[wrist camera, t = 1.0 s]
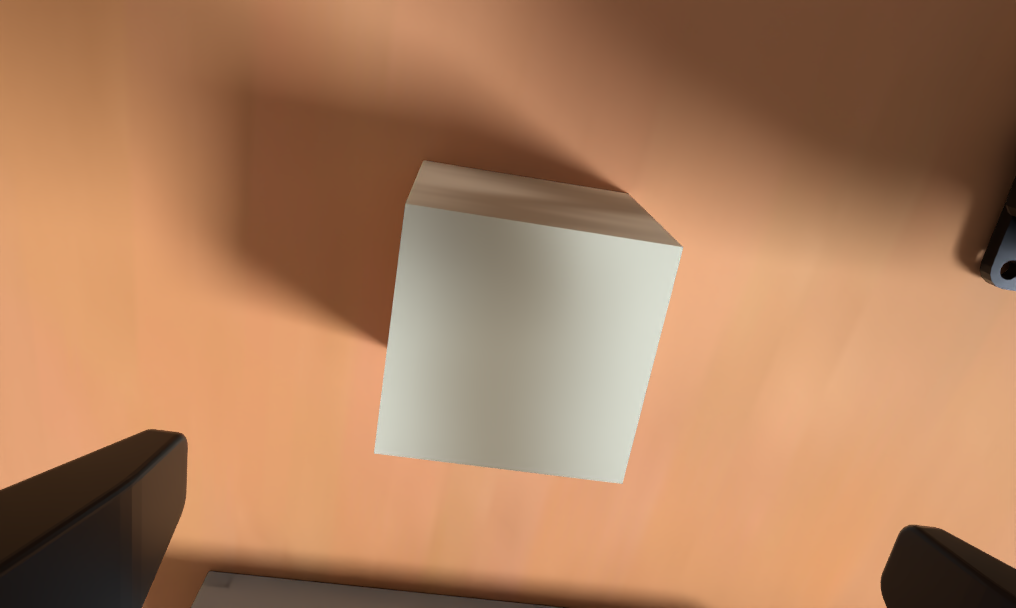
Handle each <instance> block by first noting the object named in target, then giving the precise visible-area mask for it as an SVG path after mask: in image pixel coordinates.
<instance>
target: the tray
mask: <svg viewBox="0 0 1016 608" xmlns="http://www.w3.org/2000/svg"><path fill="white" fill-rule="evenodd" d="M191 608H561V607H552V606H542V605H532V604H523V603H513V602H503V601H494V600H484V599H474V598H465V597H455V596H445V595H436V594H426V593H416V592H407V591H397V590H387V589H378V588H368V587H358V586H349V585H339V584H329V583H319V582H310V581H300V580H290V579H281V578H271V577H261V576H252V575H242V574H232V573H223V572H213V571H209V572H208V574H207V576H206V578H205V580H204V582H203V584H202V586H201V588H200V590H199V592H198V594H197V596H196V598H195V600H194V602H193V604H192V606H191Z"/></svg>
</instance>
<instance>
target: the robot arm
mask: <svg viewBox="0 0 1016 608" xmlns="http://www.w3.org/2000/svg"><path fill="white" fill-rule="evenodd" d="M1008 261H1009V267H1008V269H1007V270H1006V272H1004V273H1002V274H1001V275H1000V270H1001V267H1002V266H1003V265H1004V264H1005V263H1006V262H1008ZM980 273H981V277H982V278H983V279H984V280H985V281H986V282H988V283H990V284H992V285H994V286H996V287H999V288H1001V289H1006V290H1013V291H1016V177H1015V179H1014V182H1013V184H1012V187H1011V189H1010V192H1009V194H1008V197H1007V199H1006V202H1005V204H1004V207H1003V209H1002V212H1001V214H1000V217H999V219H998V222H997V224H996V227H995V229H994V232H993V235H992V237H991V240H990V242H989V245H988V247H987V250H986V252H985V255H984V257H983V260H982V262H981V267H980ZM187 453H188V444H187V439H186V437H185V436H184V435H183V434H182V433H179V432H171V431H164V430H156V429H148V430H145V431H143V432H140V433H138V434H136V435H133V436H131V437H128V438H126V439H123V440H121V441H119V442H116V443H114V444H111V445H109V446H106V447H104V448H102V449H99V450H97V451H94V452H92V453H89V454H87V455H85V456H82V457H80V458H77V459H75V460H72V461H70V462H68V463H65V464H63V465H60V466H58V467H55V468H53V469H51V470H48V471H46V472H43V473H41V474H38V475H36V476H33V477H31V478H29V479H26V480H24V481H21V482H19V483H16V484H14V485H12V486H9V487H7V488H4V489H2V490H0V608H142V606H143V603H144V601H145V599H146V596H147V594H148V592H149V589H150V587H151V585H152V582H153V580H154V578H155V575H156V573H157V571H158V568H159V566H160V564H161V561H162V559H163V557H164V554H165V552H166V550H167V547H168V545H169V542H170V540H171V538H172V535H173V533H174V531H175V528H176V526H177V524H178V521H179V519H180V517H181V514H182V511H183V508H184V504H185V499H186V486H187ZM881 592H882V596H883V599H884V601H885V604H886V606H887V608H1016V569H1015V568H1013V567H1011V566H1009V565H1007V564H1005V563H1004V562H1002V561H1000V560H998V559H996V558H994V557H992V556H991V555H989V554H987V553H985V552H983V551H981V550H980V549H978V548H976V547H974V546H972V545H970V544H968V543H967V542H965V541H963V540H961V539H959V538H957V537H955V536H954V535H952V534H950V533H948V532H946V531H944V530H942V529H940V528H936V527H928V526H920V525H908V526H906V527H904V528H903V529H902V530H901V531H900V533H899V535H898V537H897V539H896V542H895V544H894V547H893V549H892V551H891V554H890V556H889V559H888V561H887V563H886V566H885V568H884V571H883V573H882V576H881Z"/></svg>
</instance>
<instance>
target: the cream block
mask: <svg viewBox="0 0 1016 608" xmlns="http://www.w3.org/2000/svg"><path fill="white" fill-rule="evenodd" d="M682 250H683V246H682V245H680V244H679V243H678V242H677V241H676V240H675V239H674V238H673V237H672V236H671V235H670V234H669V233H668V232H667V231H666V230H665V229H664V228H663V227H662V226H661V225H660V224H659V223H658V222H657V221H656V220H655V219H654V218H653V217H652V216H651V215H650V214H649V213H648V212H647V211H646V210H645V209H644V208H643V207H642V206H640V205H639V204H638V203H637V202H636V201H635V200H634V199H633V198H632V197H631V196H630V195H629V194H628V193H622V192H615V191H609V190H603V189H597V188H591V187H585V186H579V185H573V184H566V183H560V182H554V181H548V180H542V179H536V178H530V177H523V176H517V175H511V174H505V173H499V172H493V171H487V170H481V169H474V168H468V167H462V166H456V165H450V164H444V163H438V162H431V161H425V160H423V162H422V165H421V167H420V169H419V172H418V174H417V177H416V179H415V181H414V184H413V186H412V189H411V191H410V194H409V196H408V198H407V201H406V203H405V210H404V218H403V226H402V234H401V242H400V250H399V258H398V266H397V274H396V282H395V290H394V298H393V306H392V314H391V322H390V330H389V338H388V346H387V354H386V362H385V370H384V378H383V386H382V394H381V402H380V410H379V418H378V426H377V434H376V442H375V450H374V453H375V454H383V455H391V456H400V457H408V458H416V459H424V460H432V461H441V462H449V463H457V464H465V465H473V466H481V467H490V468H498V469H506V470H514V471H522V472H530V473H539V474H547V475H555V476H563V477H571V478H579V479H588V480H596V481H604V482H612V483H620V484H622V483H623V479H624V475H625V471H626V467H627V464H628V460H629V456H630V452H631V448H632V444H633V440H634V436H635V432H636V429H637V425H638V421H639V417H640V413H641V409H642V405H643V401H644V398H645V394H646V390H647V386H648V382H649V378H650V374H651V370H652V366H653V363H654V359H655V355H656V351H657V347H658V343H659V339H660V335H661V332H662V328H663V324H664V320H665V316H666V312H667V308H668V304H669V300H670V297H671V293H672V289H673V285H674V281H675V277H676V273H677V269H678V265H679V262H680V258H681V254H682Z"/></svg>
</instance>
